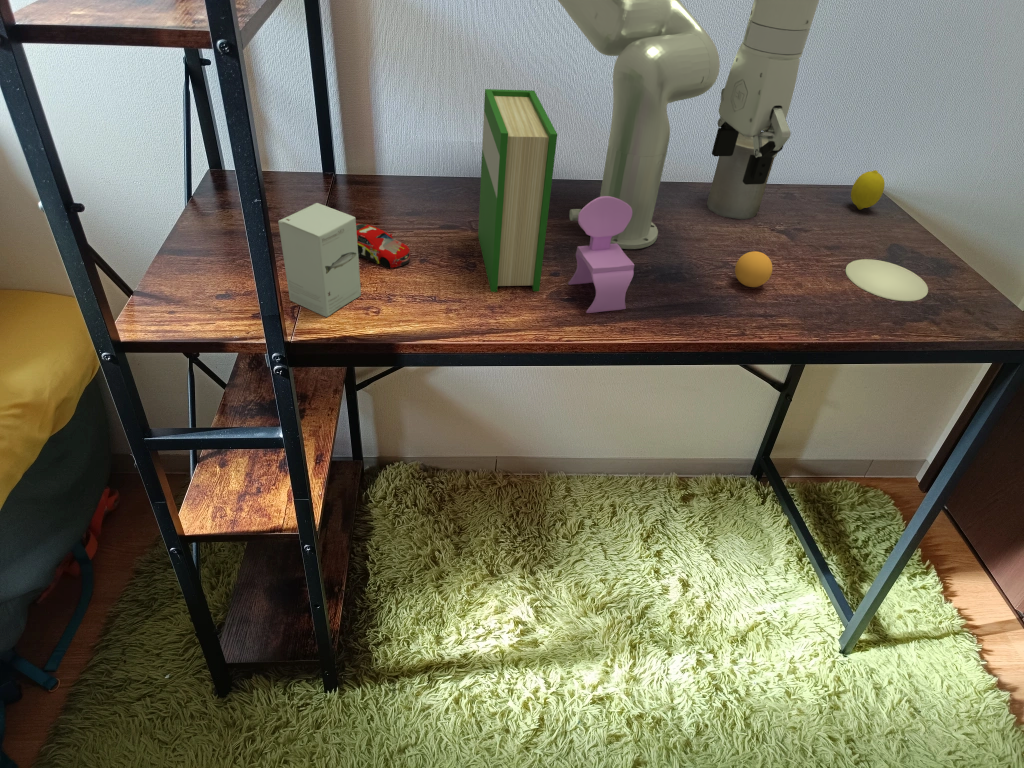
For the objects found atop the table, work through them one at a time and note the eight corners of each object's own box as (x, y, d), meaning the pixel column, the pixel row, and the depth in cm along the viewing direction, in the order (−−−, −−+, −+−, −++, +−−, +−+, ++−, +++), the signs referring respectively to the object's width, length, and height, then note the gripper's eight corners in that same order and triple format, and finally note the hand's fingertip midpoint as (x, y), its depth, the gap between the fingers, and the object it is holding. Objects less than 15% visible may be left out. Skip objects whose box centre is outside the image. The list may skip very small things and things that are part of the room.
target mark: (873, 302, 110) (873, 301, 110) (830, 261, 120) (831, 260, 120) (944, 299, 112) (945, 298, 112) (897, 259, 122) (897, 258, 122)
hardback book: (539, 291, 105) (557, 134, 90) (491, 292, 104) (501, 133, 89) (521, 235, 119) (534, 90, 103) (478, 235, 118) (485, 89, 102)
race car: (417, 261, 110) (417, 238, 108) (395, 275, 107) (395, 251, 104) (354, 235, 115) (353, 212, 113) (331, 247, 112) (329, 224, 109)
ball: (739, 294, 109) (750, 263, 105) (725, 275, 113) (734, 245, 110) (772, 293, 110) (783, 262, 106) (756, 274, 114) (767, 244, 111)
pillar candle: (731, 194, 139) (752, 118, 129) (768, 214, 132) (793, 136, 123) (695, 202, 134) (714, 125, 125) (731, 224, 128) (754, 144, 119)
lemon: (869, 204, 140) (885, 166, 134) (877, 217, 135) (895, 177, 130) (841, 201, 140) (857, 163, 135) (849, 213, 135) (865, 174, 130)
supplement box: (327, 319, 96) (317, 236, 88) (288, 300, 99) (275, 219, 91) (363, 296, 101) (357, 216, 93) (325, 279, 104) (316, 200, 96)
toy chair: (581, 315, 101) (596, 221, 92) (561, 284, 108) (574, 193, 98) (633, 310, 103) (653, 217, 94) (610, 279, 110) (627, 190, 100)
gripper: (718, 21, 94) (688, 146, 104) (782, 58, 81) (741, 196, 92) (767, 22, 95) (733, 145, 106) (839, 59, 82) (791, 194, 93)
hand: (736, 168), depth 99 cm, fingers open, 9 cm apart
